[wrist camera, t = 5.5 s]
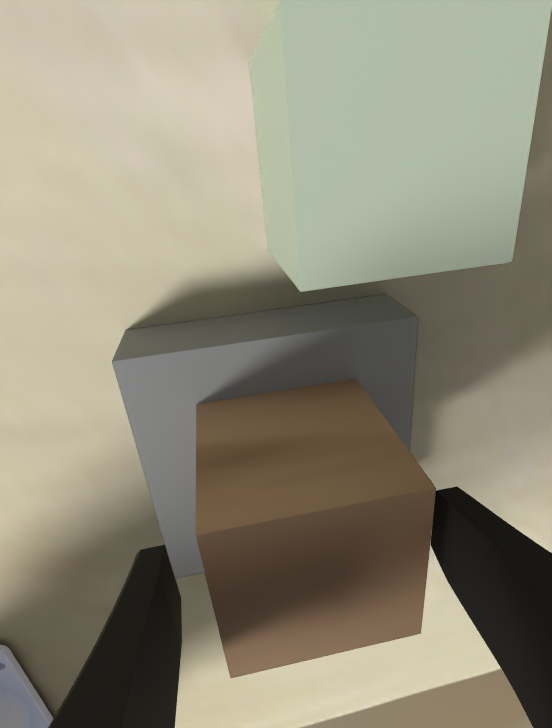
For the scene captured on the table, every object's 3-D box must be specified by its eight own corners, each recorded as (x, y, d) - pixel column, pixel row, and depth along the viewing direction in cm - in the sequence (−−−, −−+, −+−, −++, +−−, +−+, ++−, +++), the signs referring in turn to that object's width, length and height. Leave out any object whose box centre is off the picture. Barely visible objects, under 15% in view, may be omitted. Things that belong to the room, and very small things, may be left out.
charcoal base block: (375, 480, 19) (404, 531, 17) (178, 517, 18) (174, 578, 16) (380, 290, 15) (418, 316, 13) (127, 324, 14) (111, 361, 12)
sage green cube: (413, 230, 14) (512, 262, 10) (267, 249, 14) (300, 291, 9) (422, 48, 12) (555, -19, 8) (248, 62, 11) (279, -1, 7)
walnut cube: (356, 497, 15) (421, 633, 11) (220, 524, 15) (230, 678, 10) (355, 378, 13) (435, 487, 9) (196, 404, 13) (195, 535, 8)
